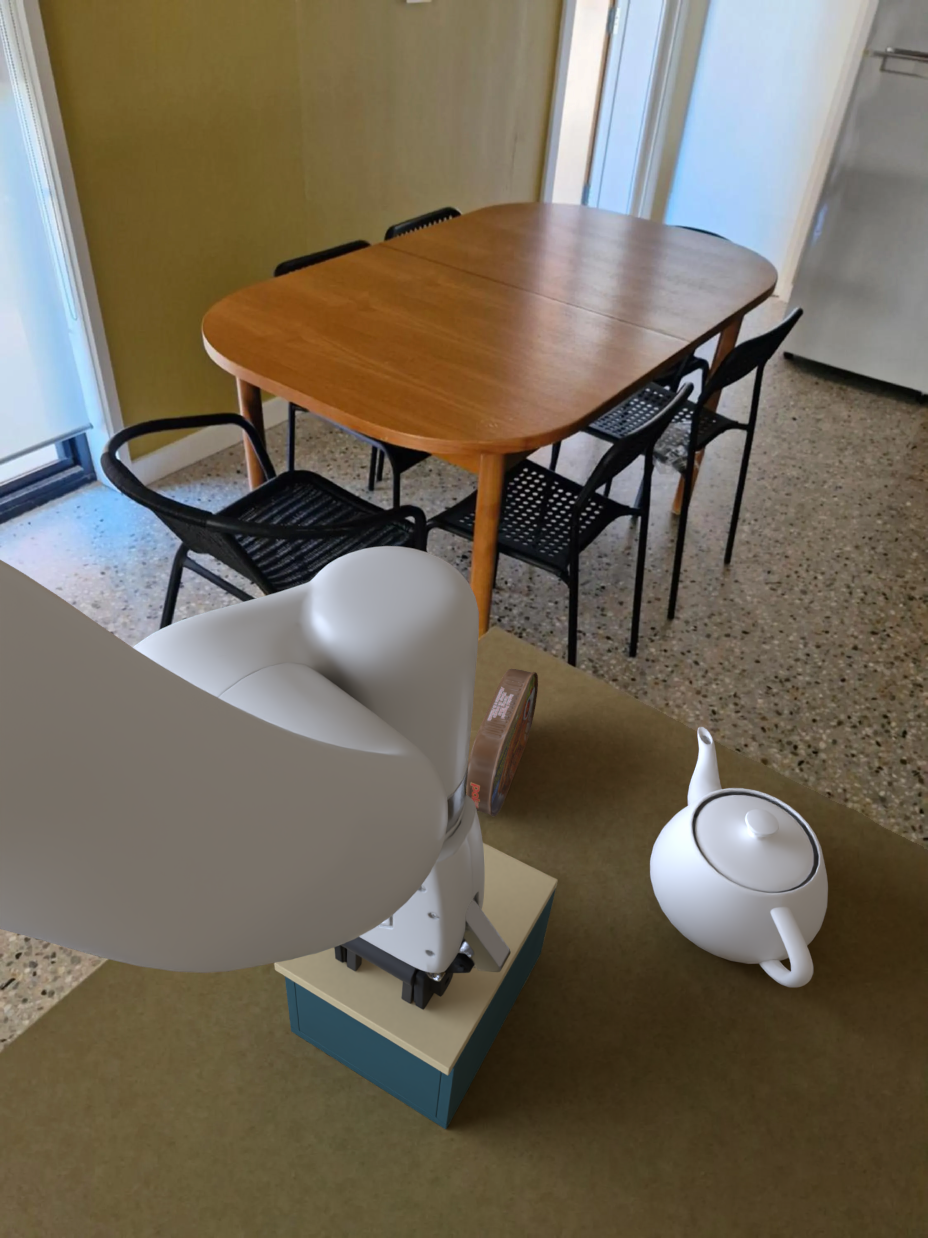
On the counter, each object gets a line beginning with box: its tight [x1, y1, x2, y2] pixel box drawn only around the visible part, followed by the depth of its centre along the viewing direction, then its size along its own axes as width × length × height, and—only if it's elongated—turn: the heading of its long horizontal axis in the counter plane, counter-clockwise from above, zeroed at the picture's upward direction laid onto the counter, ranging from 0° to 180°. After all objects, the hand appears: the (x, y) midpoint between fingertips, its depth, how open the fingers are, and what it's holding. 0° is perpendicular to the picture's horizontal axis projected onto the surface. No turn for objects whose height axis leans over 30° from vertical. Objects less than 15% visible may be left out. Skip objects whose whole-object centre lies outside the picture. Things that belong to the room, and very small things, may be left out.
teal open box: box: [284, 887, 557, 1130], centre depth 62 cm, size 15×13×9 cm
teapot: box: [649, 726, 829, 988], centre depth 70 cm, size 22×14×11 cm, turn 8°
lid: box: [274, 842, 558, 1075], centre depth 58 cm, size 15×13×5 cm
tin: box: [466, 668, 539, 817], centre depth 80 cm, size 15×3×8 cm, turn 161°
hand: (392, 963), depth 56 cm, fingers closed on lid, 5 cm apart
